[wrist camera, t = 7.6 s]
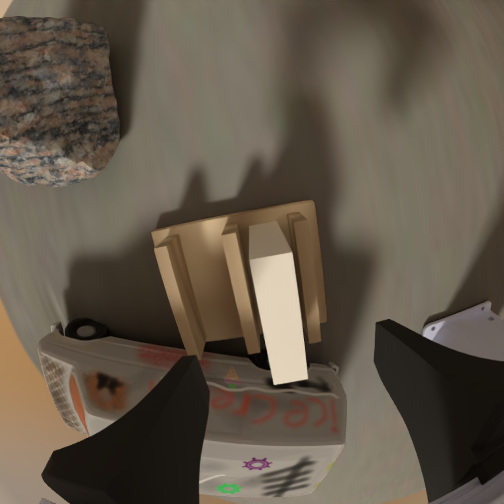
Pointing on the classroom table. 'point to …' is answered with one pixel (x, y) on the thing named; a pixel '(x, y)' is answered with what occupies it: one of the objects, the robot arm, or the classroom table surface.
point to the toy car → (220, 407)
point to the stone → (55, 100)
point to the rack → (235, 274)
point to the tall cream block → (278, 302)
